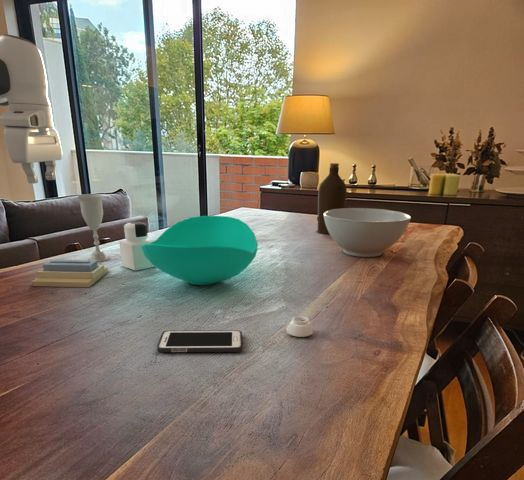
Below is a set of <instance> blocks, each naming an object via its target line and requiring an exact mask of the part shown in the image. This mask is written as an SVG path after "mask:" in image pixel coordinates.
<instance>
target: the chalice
mask: <svg viewBox="0 0 524 480" xmlns="http://www.w3.org/2000/svg"><path fill="white" fill-rule="evenodd" d="M76 197H77V199H78V200H79V206H80V212H81V213H80V214H81V217H82V218H83V220H84V222H85V224H86V226H87V227H88V228H89V229H90V230H92V232H93V235H92V238H93V239H94V242H93V245H95V249H94V251H92V253H91V256H90V259H89V260H97V262H104V261H107V260H109V258H108V257H107V255H106V253H105V252H104V251H103V250H101V248H100V243H101V242H100V241H99V235H98V230H99V229H100V228H101V225H102V222H103V218H104V209H103V208H104V207H103V200H102V199H103V197H104V196H103V195H102V194H80V195H77V196H76Z"/></svg>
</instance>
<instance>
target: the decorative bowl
mask: <svg viewBox="0 0 524 480" xmlns="http://www.w3.org/2000/svg"><path fill="white" fill-rule="evenodd" d="M411 219H412V217H411V216H410V214H408V213H405V212H401V211H396V210H391V209H383V208H382V209H381V208H370V207H369V208H367V207H346V208H342V209H332V210H328V211H325V212H324V220H325V224H326V227H327V229H328V232H329V234H328V235H330V237H331V239H332V240H333V241H334V242H335V243H336V244H337V245H338V246H339V247H340V248H342V249H343V250H342V251H343V253H344V254H346V255H349V256H353V257H358V258H359V257H361V258H374V257H375V258H376V257H379V256H382V255H383V252H384V251H386V250H388V249H390V248H391V247H392V246H394V245H395V244H396V243H397V242H398V240H400V239H401V238H402V236H404V233H405V232H406V230H407V228H408V226H409V224H410V222H411Z"/></svg>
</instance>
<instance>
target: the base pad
mask: <svg viewBox="0 0 524 480" xmlns="http://www.w3.org/2000/svg"><path fill="white" fill-rule="evenodd" d="M108 272H109V269H108V266H107V267H106V266H105V264H98V268H96V269H95V270H94V271H92V272H58V271H44V270H37V271H36V276H37V277H36V278H35V279H33V280H31V286H32V287H56V288H57V287H60V288H61V287H62V288H65V287H66V288H90V287H91V286H93V285H94V284H95V283H96V282H98V281H99V280H100V279H101V278H102V277H103V276H105V275H106V274H107V273H108Z"/></svg>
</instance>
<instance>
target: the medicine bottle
mask: <svg viewBox="0 0 524 480" xmlns="http://www.w3.org/2000/svg"><path fill="white" fill-rule="evenodd" d="M123 231H124V239H122V240H119V250H120V259H121V265H122V267H125V268H127V269H130V270H132V271H141V270H147V269H150V268H151V269H152V268H156V267H155V266H154V265H153V264H152V263H151V262H150V261H149V260H148V259H147V258H146V257H145V255H144V253H143V250H142V246H143V245H144V244H150V243H152V242H154V241H155V240H151V239H148V238H149V235H148V226H147V224H146V223H144V222H141V221H132V222H127V223H125V224H124V225H123Z"/></svg>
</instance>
